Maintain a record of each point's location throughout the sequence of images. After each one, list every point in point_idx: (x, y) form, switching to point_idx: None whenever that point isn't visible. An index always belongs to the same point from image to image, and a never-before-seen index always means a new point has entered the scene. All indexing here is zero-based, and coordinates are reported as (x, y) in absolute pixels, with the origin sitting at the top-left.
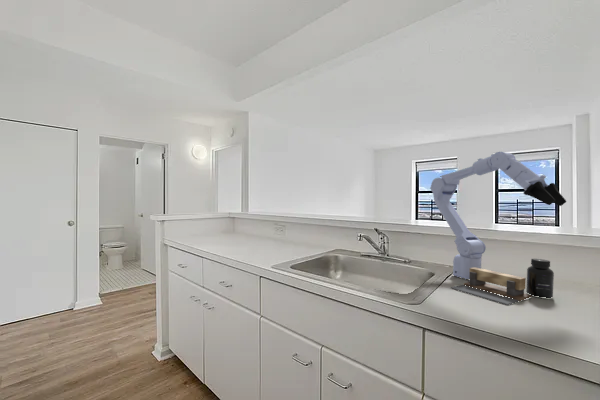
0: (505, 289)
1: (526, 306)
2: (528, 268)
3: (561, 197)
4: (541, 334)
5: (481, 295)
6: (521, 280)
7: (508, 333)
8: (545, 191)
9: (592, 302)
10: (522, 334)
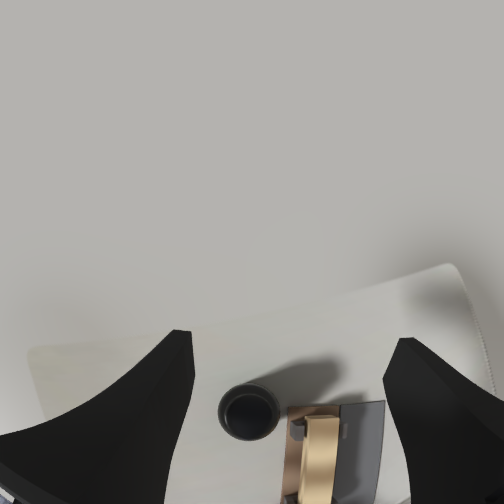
0: (294, 454)
1: (356, 384)
2: (266, 434)
3: (174, 363)
4: (445, 312)
5: (375, 450)
6: (330, 417)
7: (471, 330)
8: (478, 388)
9: (193, 329)
10: (462, 321)
